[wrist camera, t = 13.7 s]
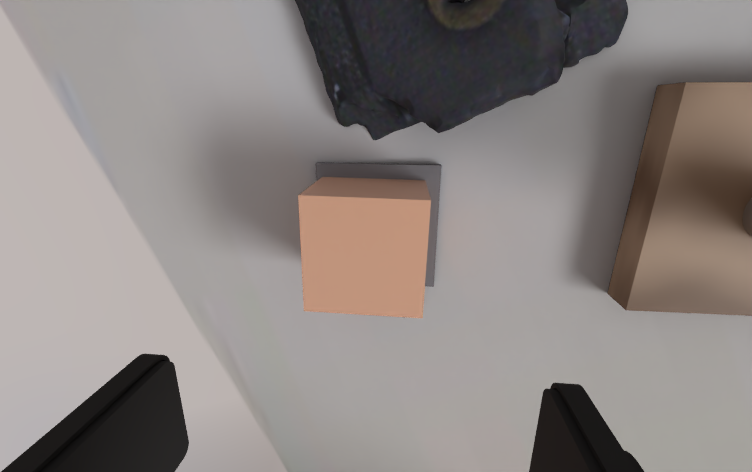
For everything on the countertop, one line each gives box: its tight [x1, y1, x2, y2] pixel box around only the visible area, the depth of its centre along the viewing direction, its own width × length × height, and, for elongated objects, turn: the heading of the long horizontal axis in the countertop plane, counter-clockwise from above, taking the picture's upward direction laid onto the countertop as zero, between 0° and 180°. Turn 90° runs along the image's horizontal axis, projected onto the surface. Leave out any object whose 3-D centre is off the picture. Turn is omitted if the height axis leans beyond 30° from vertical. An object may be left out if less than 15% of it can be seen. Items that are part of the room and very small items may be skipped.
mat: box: [316, 163, 441, 287], centre depth 22 cm, size 8×7×1 cm
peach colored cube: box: [298, 177, 431, 318], centre depth 19 cm, size 6×6×5 cm
